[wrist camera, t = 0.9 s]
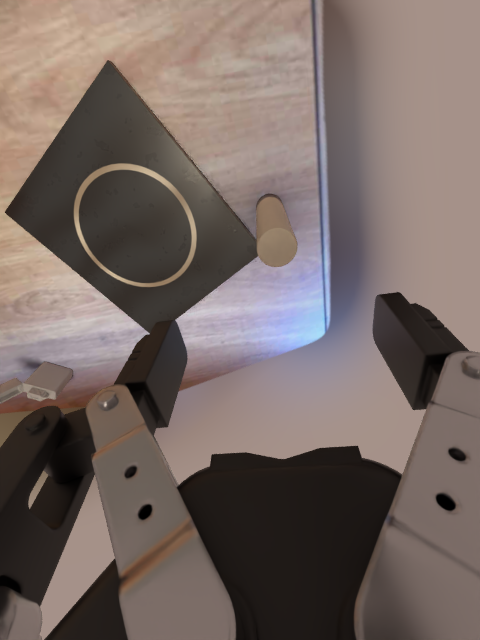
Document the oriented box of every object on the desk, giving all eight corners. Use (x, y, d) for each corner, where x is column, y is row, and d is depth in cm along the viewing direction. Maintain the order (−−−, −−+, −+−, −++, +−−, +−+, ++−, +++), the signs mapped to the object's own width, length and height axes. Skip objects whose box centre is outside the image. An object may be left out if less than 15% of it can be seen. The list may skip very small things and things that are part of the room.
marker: (250, 206, 28) (248, 245, 18) (272, 187, 27) (281, 218, 17) (266, 226, 29) (272, 274, 19) (287, 209, 29) (305, 251, 18)
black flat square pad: (8, 211, 30) (3, 212, 29) (111, 61, 23) (107, 59, 22) (154, 333, 38) (153, 337, 37) (263, 249, 31) (264, 251, 30)
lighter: (72, 369, 42) (37, 414, 35) (72, 377, 43) (37, 422, 36) (21, 355, 41) (-25, 398, 34) (22, 363, 42) (-23, 407, 35)
